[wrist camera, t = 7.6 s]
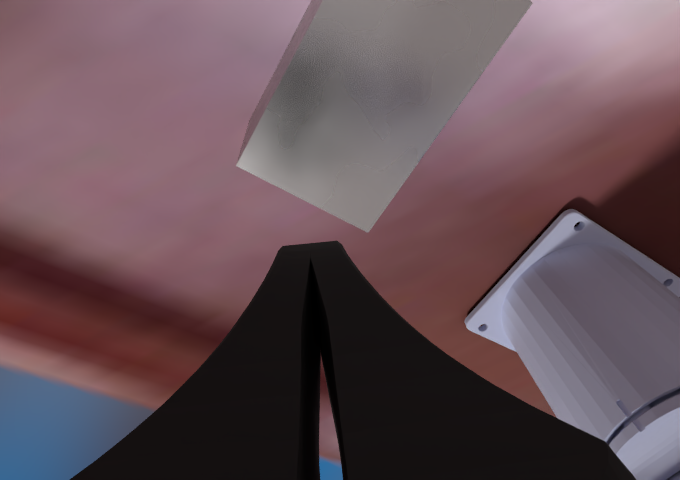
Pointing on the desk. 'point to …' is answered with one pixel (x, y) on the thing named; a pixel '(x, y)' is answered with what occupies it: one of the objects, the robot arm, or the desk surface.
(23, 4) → the desk surface
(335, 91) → the lock
